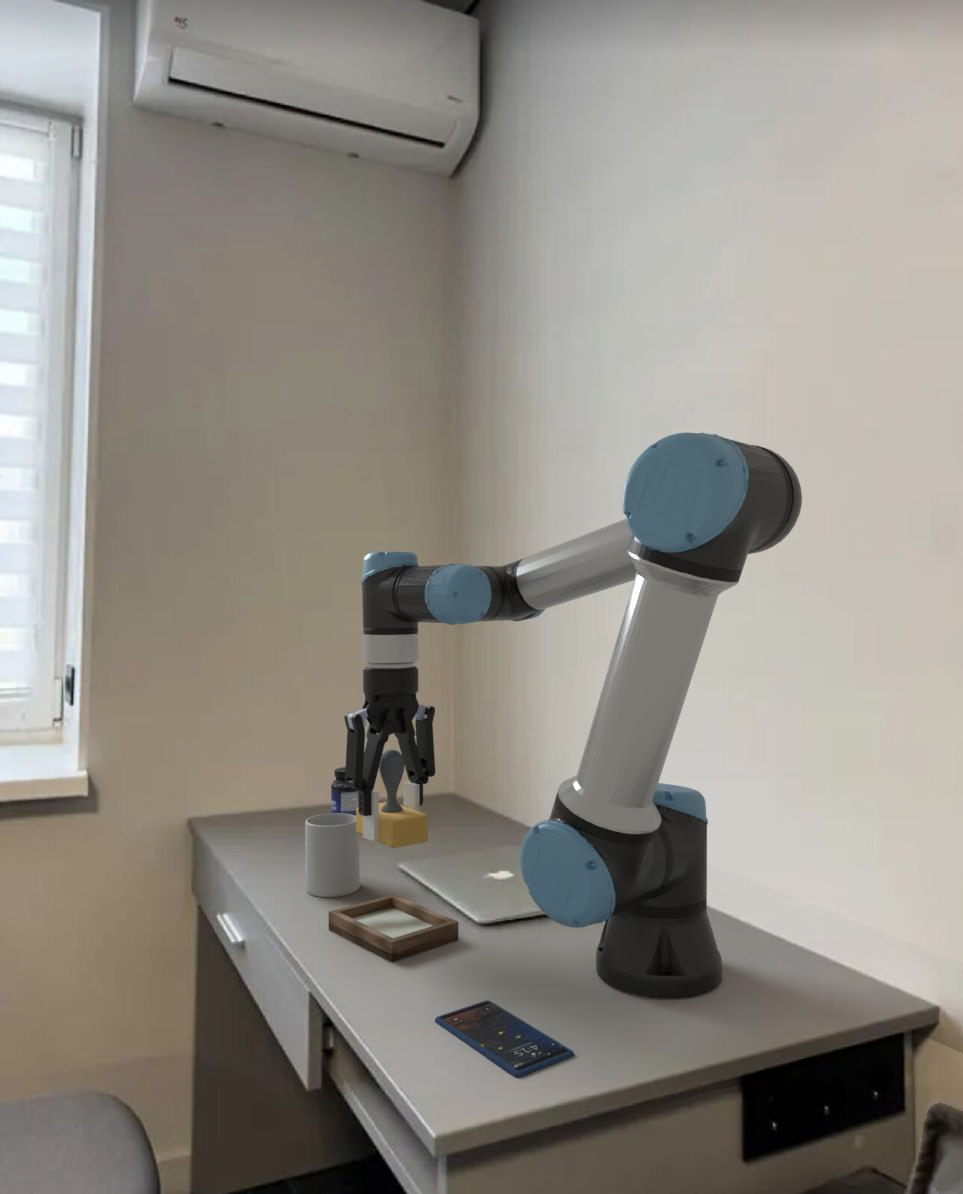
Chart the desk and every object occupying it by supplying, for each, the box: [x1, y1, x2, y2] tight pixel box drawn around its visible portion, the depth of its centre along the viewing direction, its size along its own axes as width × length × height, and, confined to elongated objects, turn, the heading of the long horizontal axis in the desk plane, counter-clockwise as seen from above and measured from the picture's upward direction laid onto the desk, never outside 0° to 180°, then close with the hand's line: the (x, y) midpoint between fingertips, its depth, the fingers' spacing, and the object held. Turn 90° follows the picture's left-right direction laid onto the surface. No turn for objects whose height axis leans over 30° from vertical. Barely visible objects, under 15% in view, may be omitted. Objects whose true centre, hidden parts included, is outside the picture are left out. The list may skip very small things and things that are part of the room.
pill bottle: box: [330, 766, 358, 816], centre depth 186 cm, size 6×6×11 cm
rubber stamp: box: [356, 749, 429, 849], centre depth 126 cm, size 10×6×12 cm, turn 37°
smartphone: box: [434, 999, 575, 1079], centre depth 97 cm, size 8×1×15 cm
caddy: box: [328, 893, 460, 963], centre depth 126 cm, size 15×11×2 cm
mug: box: [304, 813, 361, 898], centre depth 147 cm, size 12×8×11 cm
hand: (391, 834), depth 126 cm, fingers closed on rubber stamp, 6 cm apart
